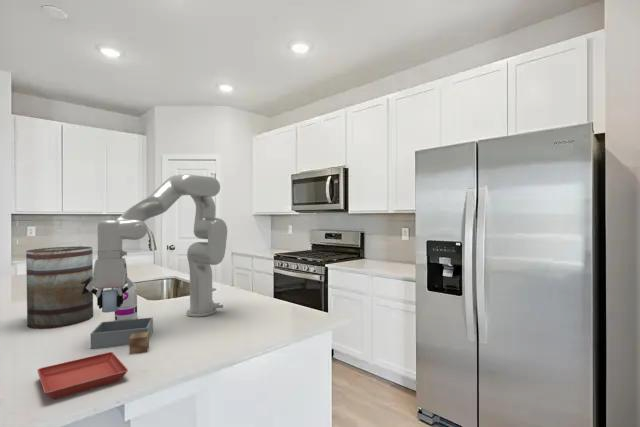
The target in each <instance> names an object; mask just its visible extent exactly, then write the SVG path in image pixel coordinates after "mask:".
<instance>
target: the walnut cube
mask: <svg viewBox="0 0 640 427" xmlns="http://www.w3.org/2000/svg"><path fill="white" fill-rule="evenodd" d="M128 347H129V355H131V354H132V355H134V354H141V353H147V352H148V350H149V348H150V339H149V332H142V333H133V334H132V335H131V337H130V338H129V345H128ZM133 353H134V354H133Z"/></svg>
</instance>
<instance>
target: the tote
mask: <svg viewBox="0 0 640 427" xmlns="http://www.w3.org/2000/svg"><path fill="white" fill-rule="evenodd" d="M153 331H154V317H143V318H136V319H130V320H120V321H115V320H112V321H111V320H110V321H109V320H108V321H101V322H100V323H99V324H98V325H97V326H96V327H95V328H94V330H93V331H92V332H90V350H93V349H101V348H111V347H118V346H119V347H121V346H129V338H130V337H131V335H132V334H133V333H142V332H149V340H150V339H151V336H152V334H153Z"/></svg>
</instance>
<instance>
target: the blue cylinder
mask: <svg viewBox="0 0 640 427" xmlns="http://www.w3.org/2000/svg"><path fill="white" fill-rule="evenodd" d="M117 296H118V290H117V289H115V288H108V289H105V290H104V289H103V291H102V308H101V312H102V313H113V312H114V313H115V311H117V310H119V307H117Z"/></svg>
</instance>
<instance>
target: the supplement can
mask: <svg viewBox="0 0 640 427" xmlns="http://www.w3.org/2000/svg"><path fill="white" fill-rule="evenodd" d="M133 284H134V285H133V286H132V287H131V288H129V289H128V290H127V291H126V292H125V293H124V294H123V304H121V306H120V307H119V310H117V311H114V321H120V320H130V319H138V287H137V285H136V283H135V282H133ZM126 286H128V284H125V285H124V286H123V289H124V288H125V287H126ZM114 289H117V288H114ZM118 294H119V293H118Z"/></svg>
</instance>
